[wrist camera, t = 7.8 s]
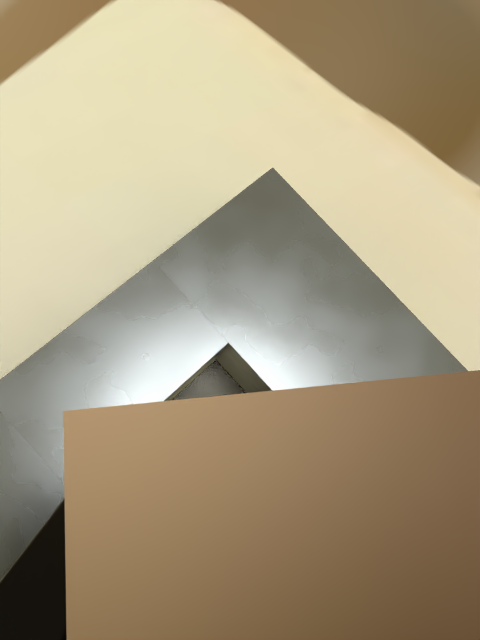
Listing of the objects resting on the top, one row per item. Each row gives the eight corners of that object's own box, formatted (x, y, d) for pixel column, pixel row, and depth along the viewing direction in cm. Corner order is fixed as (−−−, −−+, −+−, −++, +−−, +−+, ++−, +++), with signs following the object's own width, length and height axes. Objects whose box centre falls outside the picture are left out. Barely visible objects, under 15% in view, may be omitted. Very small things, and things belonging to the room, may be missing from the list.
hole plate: (152, 838, 14) (145, 991, 10) (-114, 513, 15) (-210, 543, 11) (468, 444, 19) (543, 450, 15) (253, 216, 20) (272, 167, 16)
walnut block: (155, 571, 14) (79, 1404, 2) (146, 423, 14) (62, 411, 3) (293, 548, 14) (811, 1051, 3) (277, 409, 15) (607, 357, 4)
